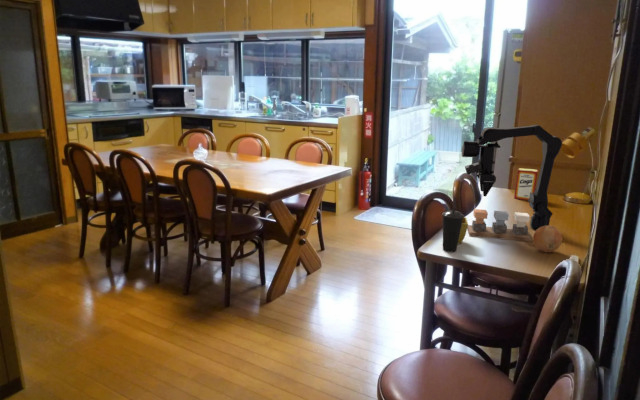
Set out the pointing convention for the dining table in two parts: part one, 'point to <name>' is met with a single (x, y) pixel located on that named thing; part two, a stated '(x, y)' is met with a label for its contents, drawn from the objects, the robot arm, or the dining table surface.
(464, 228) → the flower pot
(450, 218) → the drinking cup
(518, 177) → the baking soda box
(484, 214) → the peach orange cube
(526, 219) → the cream button
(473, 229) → the walnut button board
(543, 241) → the onion
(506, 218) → the slate button
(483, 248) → the dining table surface
